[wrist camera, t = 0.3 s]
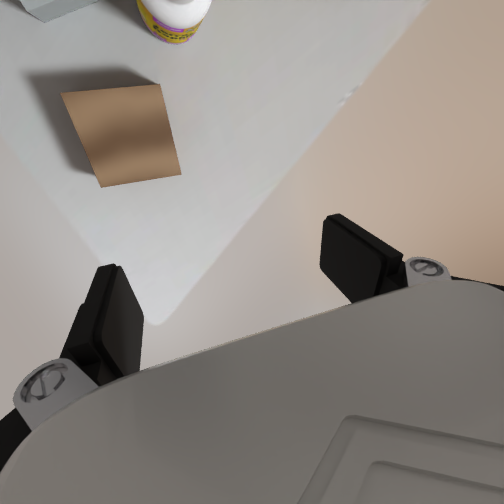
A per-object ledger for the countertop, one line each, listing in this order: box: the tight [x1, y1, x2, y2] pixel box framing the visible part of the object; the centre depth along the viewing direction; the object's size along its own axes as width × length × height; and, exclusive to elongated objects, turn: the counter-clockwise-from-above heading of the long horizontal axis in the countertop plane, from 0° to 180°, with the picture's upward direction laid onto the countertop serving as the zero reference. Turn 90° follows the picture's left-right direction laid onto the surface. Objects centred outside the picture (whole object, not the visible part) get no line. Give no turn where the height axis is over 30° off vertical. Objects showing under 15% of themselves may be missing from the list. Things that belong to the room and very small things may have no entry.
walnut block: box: [60, 84, 181, 188], centre depth 31 cm, size 10×10×4 cm
